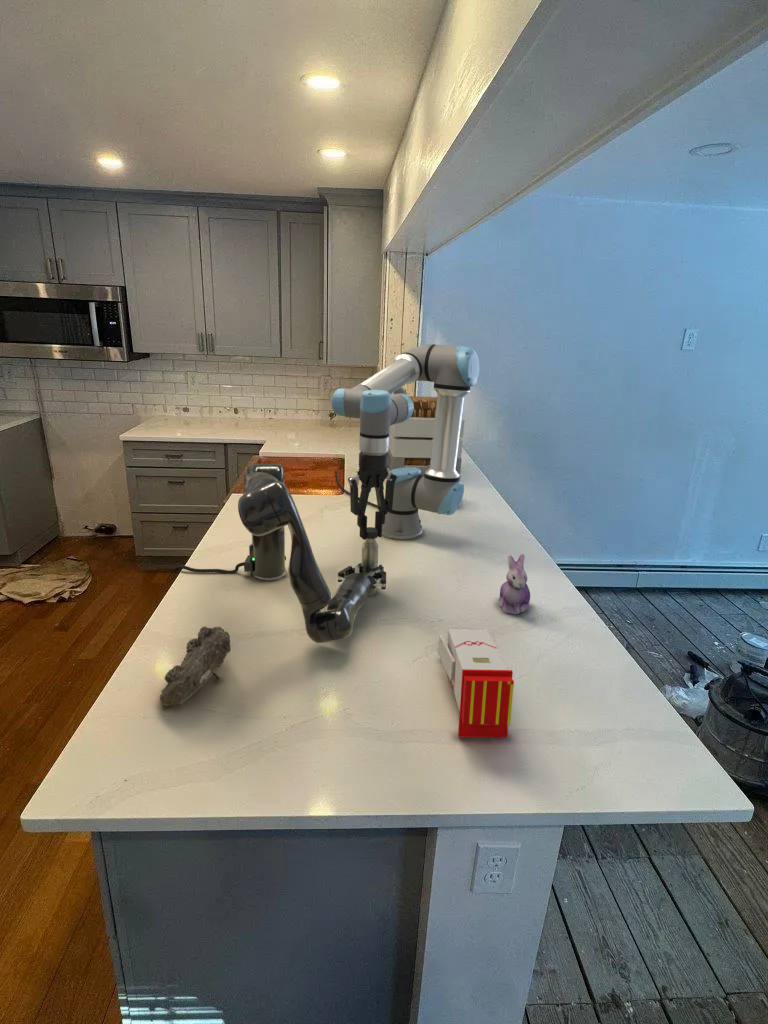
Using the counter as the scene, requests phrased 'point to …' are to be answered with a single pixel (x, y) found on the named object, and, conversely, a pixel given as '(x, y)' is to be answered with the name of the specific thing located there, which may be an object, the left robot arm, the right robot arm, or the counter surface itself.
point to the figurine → (515, 588)
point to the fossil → (196, 665)
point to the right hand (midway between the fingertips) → (370, 536)
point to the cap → (372, 533)
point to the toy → (478, 682)
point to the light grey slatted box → (416, 436)
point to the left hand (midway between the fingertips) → (371, 566)
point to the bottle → (369, 558)
